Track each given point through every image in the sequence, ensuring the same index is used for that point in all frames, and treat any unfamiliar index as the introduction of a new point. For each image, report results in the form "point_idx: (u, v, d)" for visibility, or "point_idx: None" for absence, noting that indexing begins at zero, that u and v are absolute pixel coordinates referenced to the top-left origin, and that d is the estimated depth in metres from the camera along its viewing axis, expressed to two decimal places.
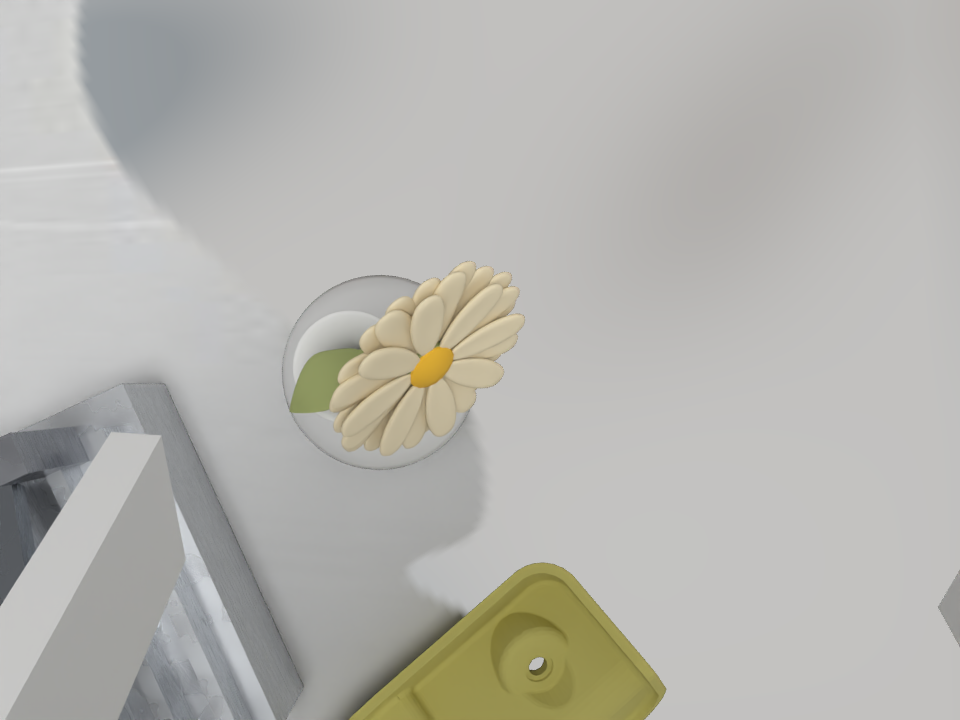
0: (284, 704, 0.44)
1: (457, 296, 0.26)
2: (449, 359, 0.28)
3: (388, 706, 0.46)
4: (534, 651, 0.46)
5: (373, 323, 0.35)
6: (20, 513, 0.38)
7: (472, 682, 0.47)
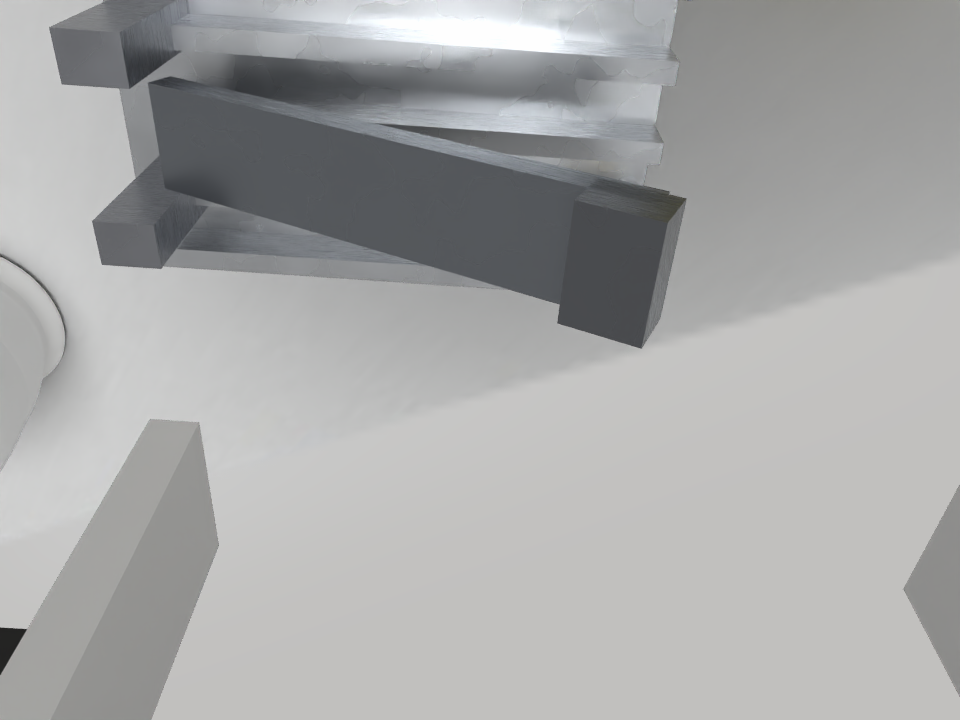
0: None
1: None
2: None
3: None
4: None
5: None
6: (195, 90, 0.26)
7: None
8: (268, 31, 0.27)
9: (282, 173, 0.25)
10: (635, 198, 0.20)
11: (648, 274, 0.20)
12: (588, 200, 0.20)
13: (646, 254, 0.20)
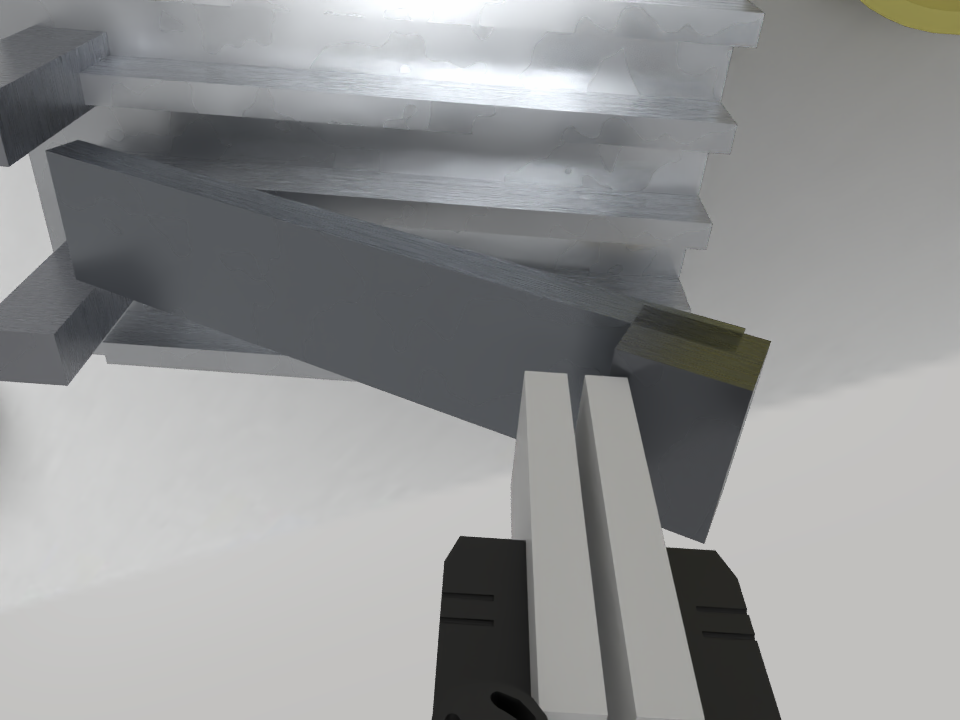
0: None
1: None
2: None
3: None
4: None
5: None
6: (106, 161, 0.20)
7: None
8: (206, 82, 0.21)
9: (219, 273, 0.19)
10: (700, 343, 0.14)
11: (719, 453, 0.14)
12: (634, 350, 0.14)
13: (718, 428, 0.14)
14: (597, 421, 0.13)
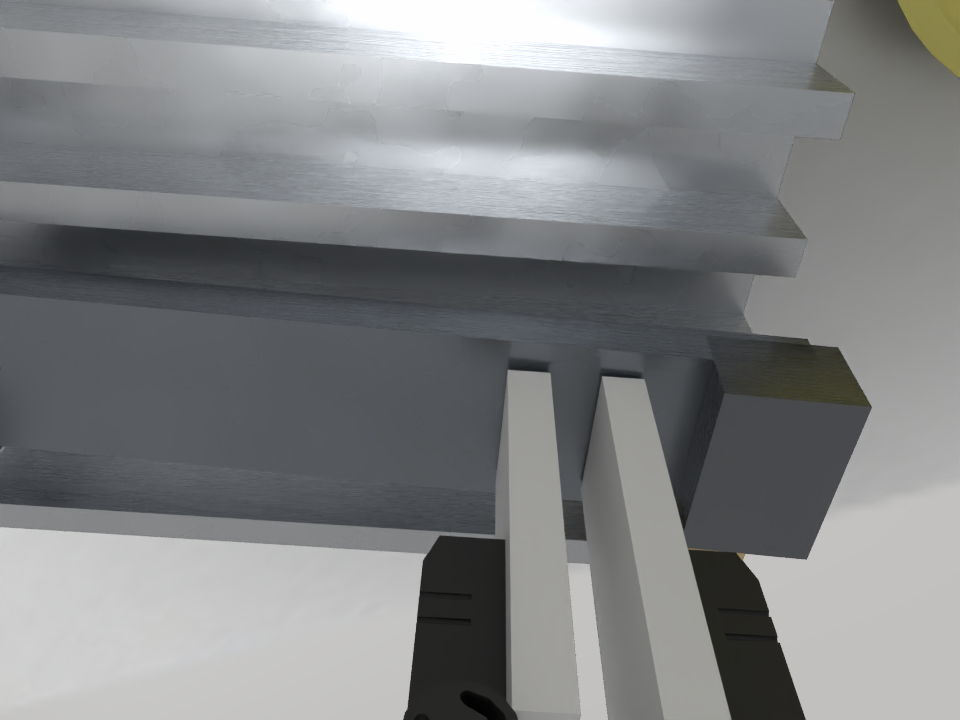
0: None
1: None
2: None
3: None
4: None
5: None
6: None
7: None
8: (66, 184, 0.15)
9: (164, 394, 0.15)
10: (787, 366, 0.14)
11: (830, 472, 0.14)
12: (742, 390, 0.13)
13: (832, 449, 0.14)
14: (616, 422, 0.13)
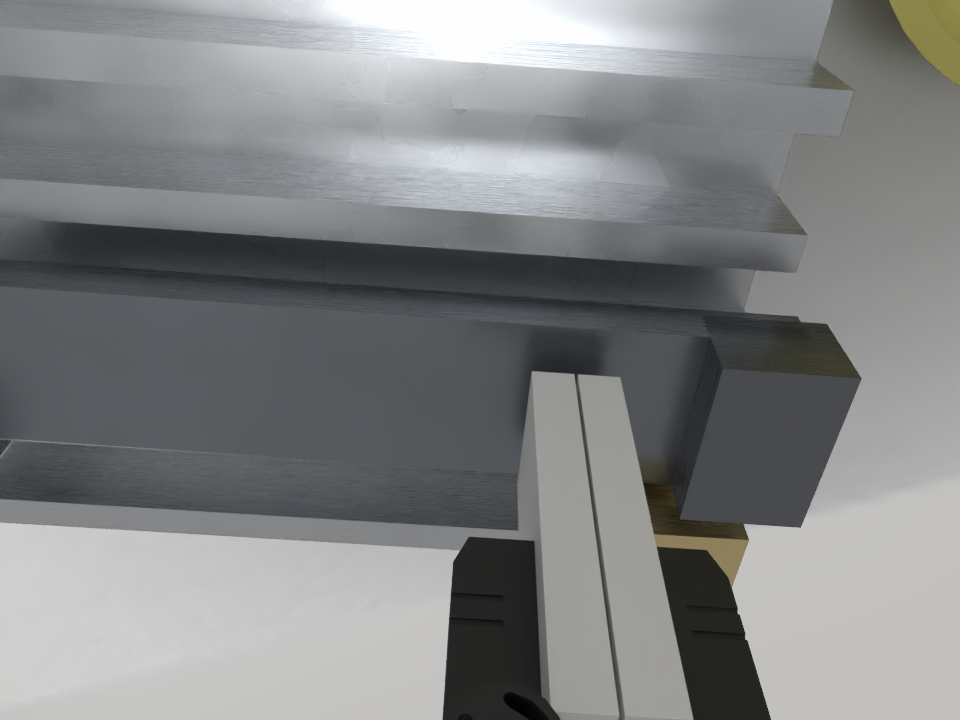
0: None
1: None
2: None
3: None
4: None
5: None
6: None
7: None
8: (75, 182, 0.15)
9: (176, 383, 0.16)
10: (780, 342, 0.15)
11: (823, 442, 0.15)
12: (739, 365, 0.14)
13: (824, 419, 0.14)
14: (589, 421, 0.13)
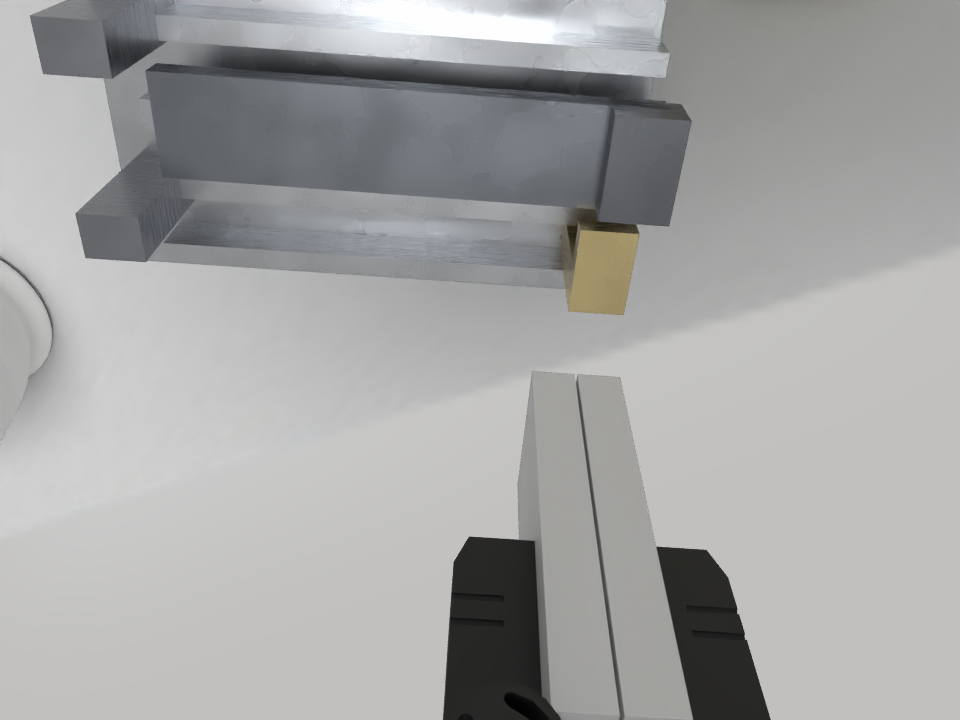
0: None
1: None
2: None
3: None
4: None
5: None
6: (201, 72, 0.26)
7: None
8: (254, 21, 0.27)
9: (309, 140, 0.27)
10: (651, 108, 0.26)
11: (675, 165, 0.26)
12: (625, 115, 0.25)
13: (674, 149, 0.26)
14: (589, 421, 0.13)
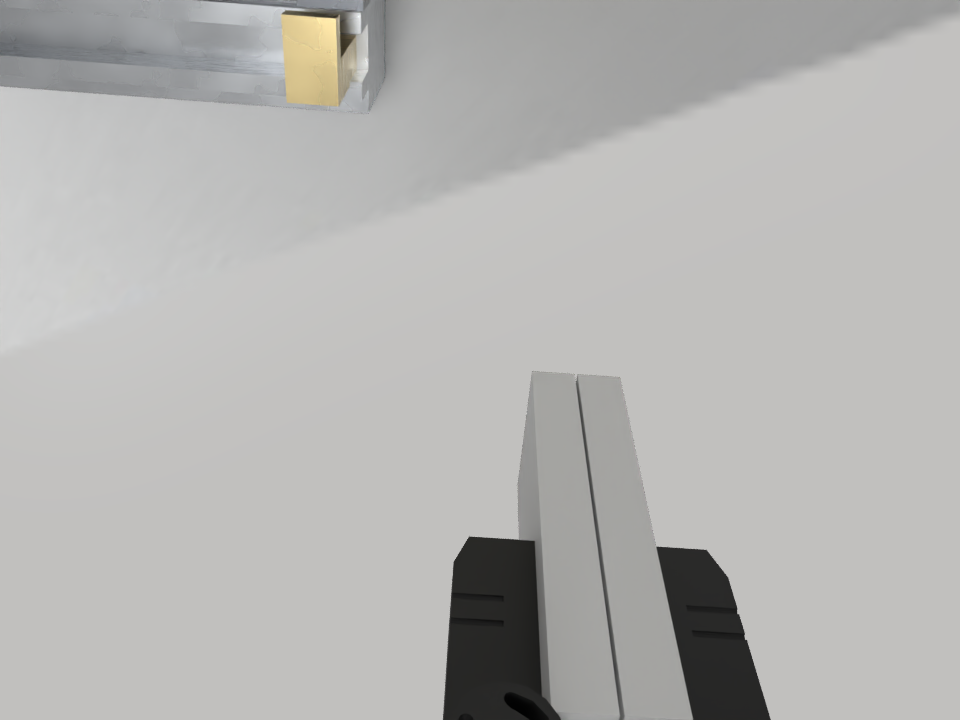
0: None
1: None
2: None
3: None
4: None
5: None
6: None
7: None
8: None
9: None
10: None
11: None
12: None
13: None
14: (589, 421, 0.13)
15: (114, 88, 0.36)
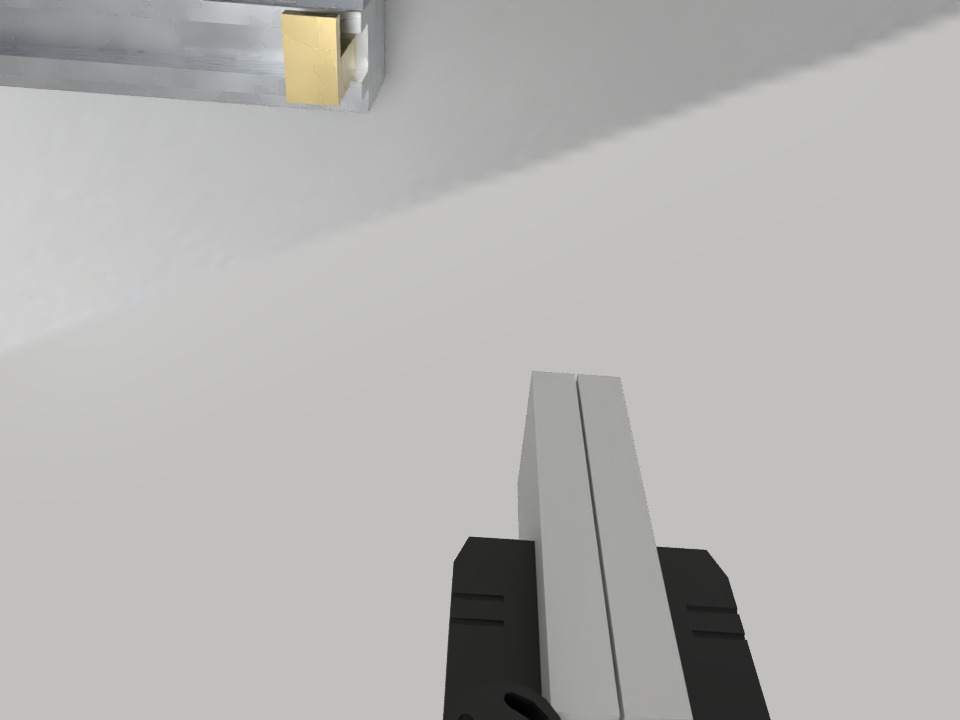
0: None
1: None
2: None
3: None
4: None
5: None
6: None
7: None
8: None
9: None
10: None
11: None
12: None
13: None
14: (589, 421, 0.13)
15: (114, 88, 0.36)
